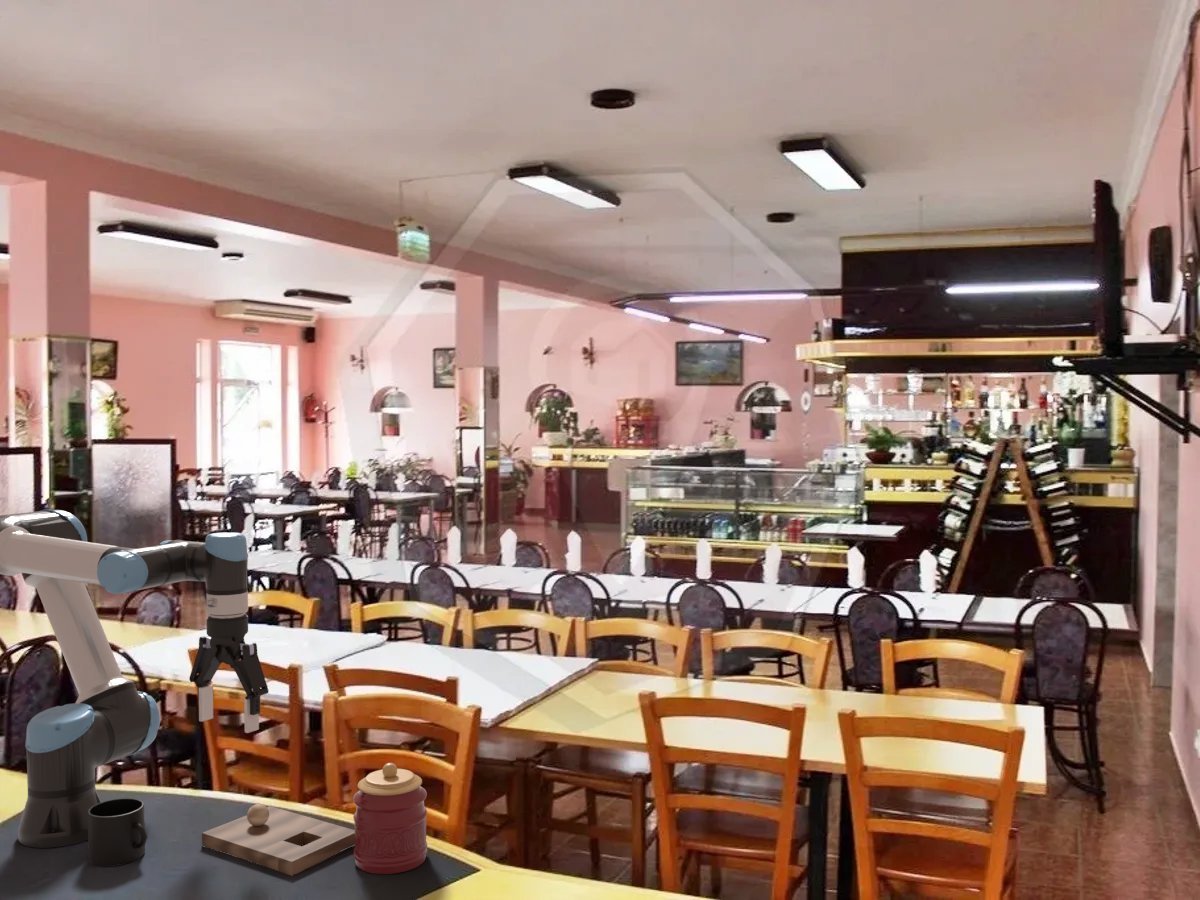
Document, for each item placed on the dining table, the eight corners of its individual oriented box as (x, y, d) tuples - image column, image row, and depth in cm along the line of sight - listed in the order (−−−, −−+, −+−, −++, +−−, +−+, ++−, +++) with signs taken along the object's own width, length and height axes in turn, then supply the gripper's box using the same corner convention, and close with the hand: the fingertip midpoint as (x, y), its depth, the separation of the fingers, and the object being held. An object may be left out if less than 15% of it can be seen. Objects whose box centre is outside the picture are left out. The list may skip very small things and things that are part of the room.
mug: (124, 873, 193) (123, 822, 192) (76, 861, 198) (75, 812, 197) (167, 853, 201) (166, 804, 201) (119, 842, 206) (118, 795, 206)
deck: (202, 846, 204) (201, 832, 204) (270, 818, 218) (270, 806, 218) (292, 875, 192) (291, 861, 191) (358, 844, 205) (358, 831, 205)
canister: (439, 850, 202) (438, 755, 201) (406, 880, 190) (405, 778, 189) (376, 842, 206) (375, 749, 205) (339, 870, 194) (338, 771, 193)
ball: (242, 826, 207) (242, 805, 207) (259, 819, 211) (259, 799, 210) (257, 831, 205) (256, 810, 205) (273, 824, 208) (273, 803, 208)
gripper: (169, 610, 214) (170, 719, 215) (254, 625, 200) (256, 741, 201) (202, 604, 220) (203, 710, 221) (287, 618, 207) (288, 730, 208)
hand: (228, 725), depth 211 cm, fingers open, 12 cm apart
